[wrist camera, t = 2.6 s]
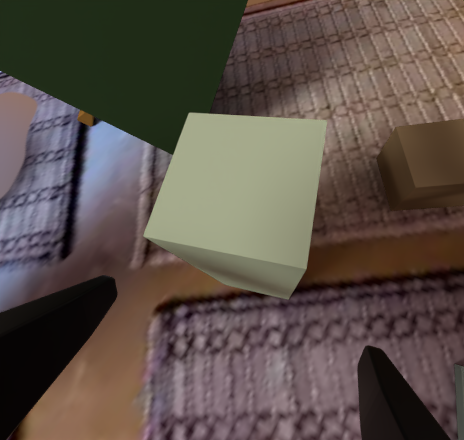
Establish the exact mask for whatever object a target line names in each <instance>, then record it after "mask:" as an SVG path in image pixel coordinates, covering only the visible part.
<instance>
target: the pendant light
mask: <svg viewBox="0 0 464 440" xmlns="http://www.w3.org/2000/svg"><path fill="white" fill-rule="evenodd" d="M247 1H248V0H0V71H2V72H4V73H6V74H8V75H10V76H12V77H14V78H16V79H18V80H20V81H22V82H24V83H26V84H28V85H30V86H32V87H34V88H37V89H39V90H41V91H43V92H45V93H47V94H49V95H51V96H53V97H55V98H57V99H59V100H61V101H63V102H65V103H67V104H69V105H71V106H73V107H75V108H78V109H80V112H79V115H78V121H80V122H82V123H84V124H86V125H89V126H93V122H94V118H95V117H96V118H98V119H100V120H102V121H104V122H106V123H108V124H110V125H112V126H114V127H117V128H119V129H121V130H123V131H125V132H127V133H129V134H131V135H133V136H135V137H137V138H139V139H141V140H143V141H145V142H147V143H149V144H151V145H153V146H156V147H158V148H160V149H162V150H164V151H166V152H168V153H170V154H172V155H173V154H174V152H175V149H176V146H177V143H178V141H179V138H180V135H181V133H182V130H183V127H184V125H185V122H186V119H187V117H188V114H189V113H205V114H209V112H210V110H211V107H212V104H213V101H214V98H215V95H216V92H217V89H218V86H219V83H220V80H221V77H222V74H223V72H224V69H225V66H226V63H227V60H228V57H229V54H230V51H231V48H232V45H233V42H234V39H235V36H236V34H237V31H238V28H239V25H240V22H241V19H242V16H243V13H244V10H245V7H246V4H247Z"/></svg>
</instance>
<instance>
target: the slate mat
mask: <svg viewBox="0 0 464 440" xmlns="http://www.w3.org/2000/svg"><path fill="white" fill-rule="evenodd" d="M454 365H455V385H456V405H457V425H458V440H464V366H460V365H456V364H454Z"/></svg>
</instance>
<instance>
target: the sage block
mask: <svg viewBox="0 0 464 440" xmlns="http://www.w3.org/2000/svg"><path fill="white" fill-rule="evenodd" d="M326 126H327V120H312V119H294V118H276V117H258V116H241V115H223V114H205V113H189V114H188V117H187V119H186V122H185V125H184V127H183V130H182V133H181V135H180V138H179V141H178V143H177V146H176V149H175V152H174V154H173V157H172V160H171V162H170V165H169V168H168V170H167V173H166V176H165V179H164V181H163V184H162V187H161V189H160V192H159V195H158V197H157V200H156V203H155V205H154V208H153V211H152V214H151V216H150V219H149V222H148V224H147V227H146V230H145V232H144V235H143V237H145V238H147V239H149V240H150V241H152V242H154V243H155V244H157V245H159V246H160V247H162V248H164V249H165V250H167V251H169V252H171V253H172V254H174V255H176V256H177V257H179V258H181V259H182V260H184V261H186V262H188V263H189V264H191V265H193V266H194V267H196V268H198V269H199V270H201V271H203V272H204V273H206V274H208V275H210V276H211V277H213V278H215V279H216V280H218V281H220V282H221V283H223V284H225V285H228V286H233V287H237V288H241V289H245V290H250V291H254V292H258V293H262V294H266V295H271V296H275V297H279V298H283V299H288V300H289V298H290V296H291V295H292V293H293V291H294V290H295V288H296V286H297V284H298V283H299V281H300V279H301V278H302V276H303V274H304V273H305V271H306V269H307V262H308V255H309V248H310V241H311V234H312V227H313V219H314V212H315V205H316V198H317V191H318V184H319V176H320V169H321V162H322V155H323V148H324V141H325V133H326Z"/></svg>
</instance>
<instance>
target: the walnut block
mask: <svg viewBox="0 0 464 440" xmlns="http://www.w3.org/2000/svg"><path fill="white" fill-rule="evenodd" d="M376 159H377V162H378V166H379V170H380V173H381V177H382V181H383V184H384V188H385V192H386V195H387V199H388V203H389V206H390V210H391V211H399V210H413V209H426V208H440V207H454V206H463V205H464V119H457V120H449V121H441V122H433V123H425V124H417V125H408V126H400V127H396V128H395V129H394V131H393V133H392V134H391V136H390V137H389V139H388V141H387V142H386V144H385V145H384V147H383V149H382V150H381V152H380V154H379V155H378V157H377V158H376Z"/></svg>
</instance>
